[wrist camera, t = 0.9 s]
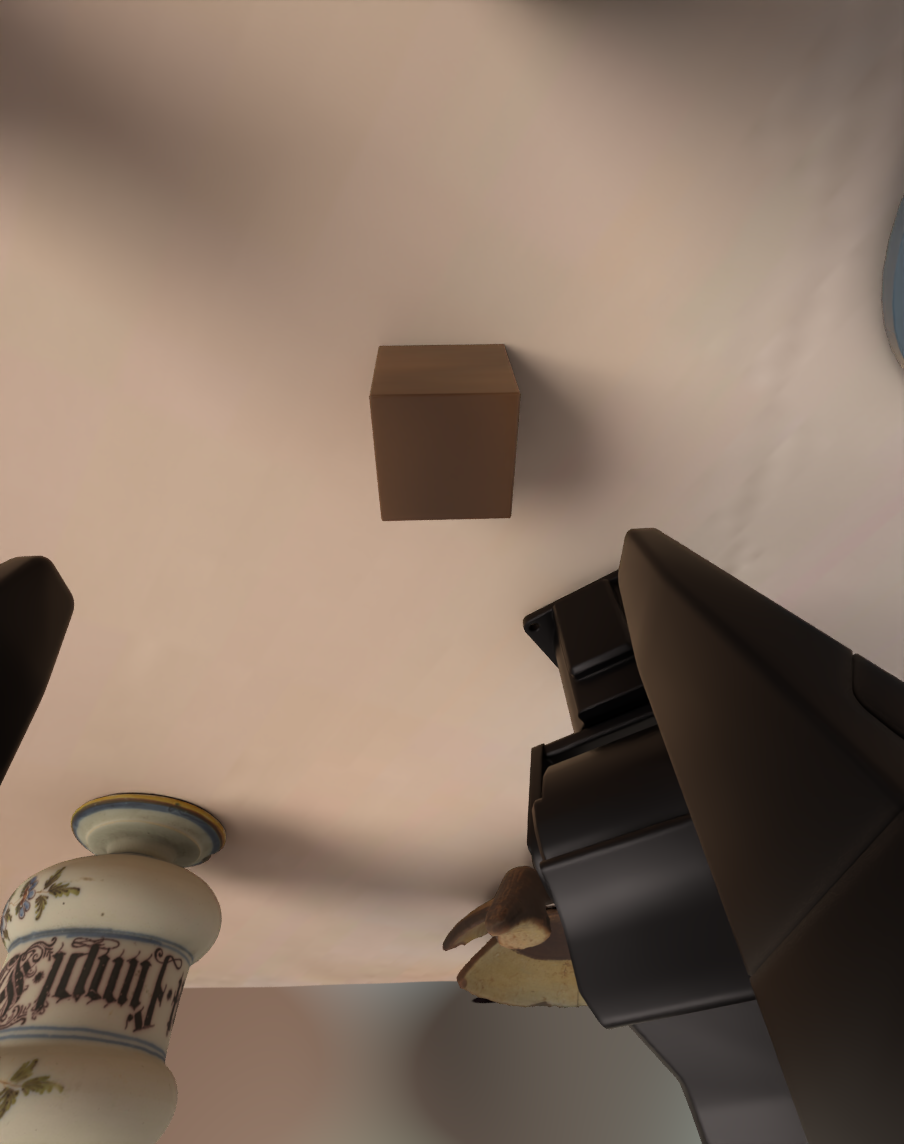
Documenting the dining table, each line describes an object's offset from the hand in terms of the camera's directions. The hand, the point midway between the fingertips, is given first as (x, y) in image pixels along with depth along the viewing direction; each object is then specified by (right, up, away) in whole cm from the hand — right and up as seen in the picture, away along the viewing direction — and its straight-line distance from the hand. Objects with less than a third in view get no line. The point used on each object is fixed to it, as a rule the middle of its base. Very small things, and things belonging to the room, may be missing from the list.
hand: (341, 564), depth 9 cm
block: (+1, +6, +11) cm, 13 cm away
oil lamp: (+12, -27, +39) cm, 49 cm away
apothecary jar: (-19, -18, +30) cm, 40 cm away
